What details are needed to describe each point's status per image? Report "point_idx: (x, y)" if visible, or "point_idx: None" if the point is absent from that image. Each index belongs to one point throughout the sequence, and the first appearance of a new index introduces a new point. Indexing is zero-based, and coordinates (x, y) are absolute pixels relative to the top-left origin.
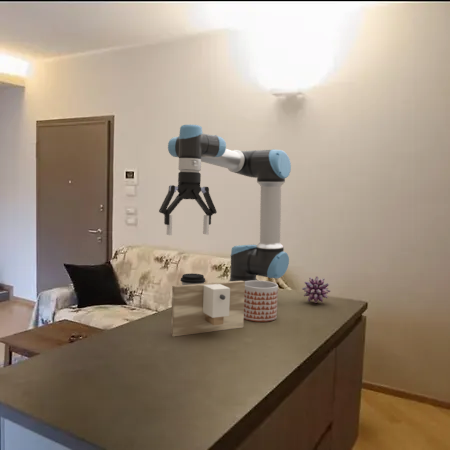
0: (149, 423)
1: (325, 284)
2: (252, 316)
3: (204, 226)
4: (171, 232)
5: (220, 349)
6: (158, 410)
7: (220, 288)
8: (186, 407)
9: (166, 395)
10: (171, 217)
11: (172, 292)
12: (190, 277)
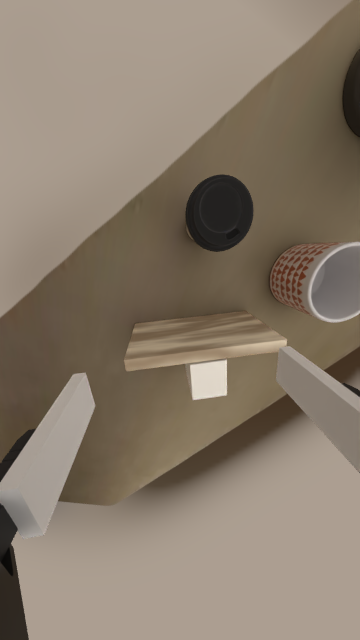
0: (80, 486)
1: None
2: (278, 298)
3: (304, 383)
4: (90, 416)
5: (178, 384)
6: (88, 474)
7: (208, 394)
8: (109, 474)
9: (97, 458)
10: (47, 513)
11: (126, 354)
12: (205, 240)
